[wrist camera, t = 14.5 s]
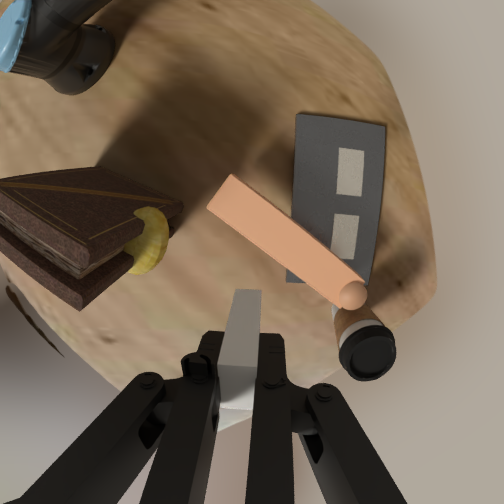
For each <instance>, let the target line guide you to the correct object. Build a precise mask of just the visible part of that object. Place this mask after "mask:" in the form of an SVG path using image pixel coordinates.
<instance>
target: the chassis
mask: <svg viewBox="0 0 504 504" xmlns="http://www.w3.org/2000/svg"><path fill="white" fill-rule="evenodd" d="M384 152H385V127H384V126H379V125H374V124H368V123H363V122H357V121H351V120H344V119H337V118H330V117H322V116H313V115H303V114H296V122H295V149H294V170H293V189H292V205H291V218H292V219H293V220H294V221H296V222H297V223H298V224H299V225H301V226H302V227H303V228H304V229H306V230H307V231H308V232H309V233H311V234H312V235H313V236H314V237H315V238H317V239H318V240H319V241H320V242H322V243H323V244H324V245H325V246H326V247H328V248H329V249H330V250H331V251H332V252H334V253H335V254H336V255H337V256H338V257H339V258H341V259H342V260H343V261H344V262H345V263H346V264H348V265H349V266H350V267H351V268H352V269H353V270H355V271H356V272H357V273H358V274H359V275H360V276H361V277H362V278H363V280H364V281H365V283H364V284H363V285H368V282H369V277H370V272H371V267H372V261H373V255H374V249H375V243H376V236H377V229H378V222H379V214H380V205H381V195H382V184H383V170H384ZM286 282H292V283H306V282H304V281H303V280H302V279H300V278H299V277H298V276H296V275H295V274H294V273H292V272H291V271H290V270H288V269H287V271H286Z"/></svg>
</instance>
